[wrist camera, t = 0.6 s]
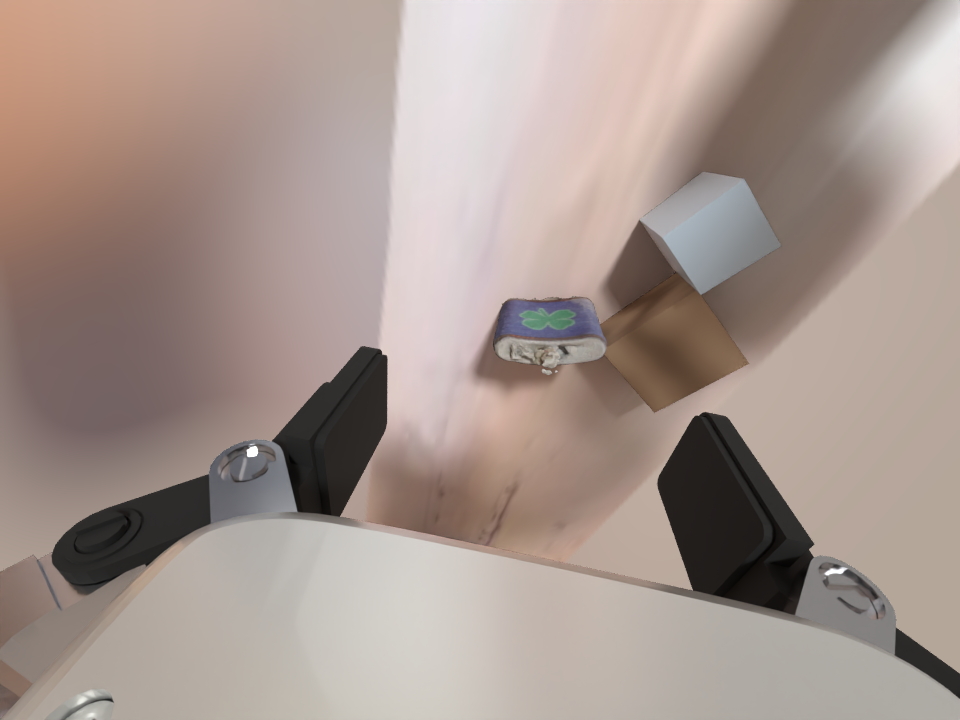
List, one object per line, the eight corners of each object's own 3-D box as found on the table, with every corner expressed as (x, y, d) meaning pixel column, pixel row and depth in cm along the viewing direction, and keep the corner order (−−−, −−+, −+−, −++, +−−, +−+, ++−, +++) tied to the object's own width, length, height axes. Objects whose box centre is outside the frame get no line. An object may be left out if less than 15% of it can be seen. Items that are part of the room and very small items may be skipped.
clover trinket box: (594, 295, 36) (613, 348, 27) (592, 322, 37) (608, 381, 28) (500, 296, 37) (487, 347, 28) (501, 323, 39) (490, 379, 30)
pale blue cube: (702, 171, 30) (744, 178, 24) (734, 226, 31) (781, 246, 25) (639, 219, 32) (662, 237, 26) (672, 268, 34) (700, 295, 28)
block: (677, 271, 34) (697, 289, 30) (724, 337, 37) (749, 363, 32) (593, 327, 38) (601, 351, 34) (642, 384, 40) (654, 412, 36)
